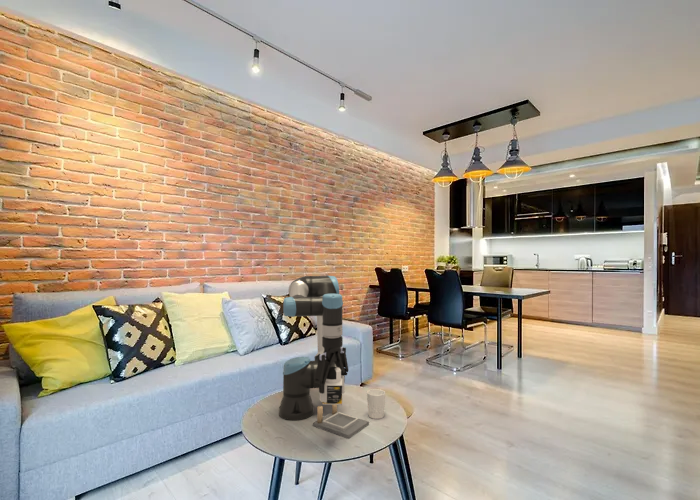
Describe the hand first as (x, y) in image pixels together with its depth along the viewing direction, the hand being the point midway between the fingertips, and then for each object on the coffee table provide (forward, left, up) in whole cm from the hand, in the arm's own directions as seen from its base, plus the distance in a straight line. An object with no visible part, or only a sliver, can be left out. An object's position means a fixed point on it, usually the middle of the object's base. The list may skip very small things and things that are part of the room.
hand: (332, 396), depth 129 cm
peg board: (-6, +13, -17) cm, 22 cm away
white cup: (+1, +29, -17) cm, 33 cm away
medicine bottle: (0, 0, -2) cm, 2 cm away
